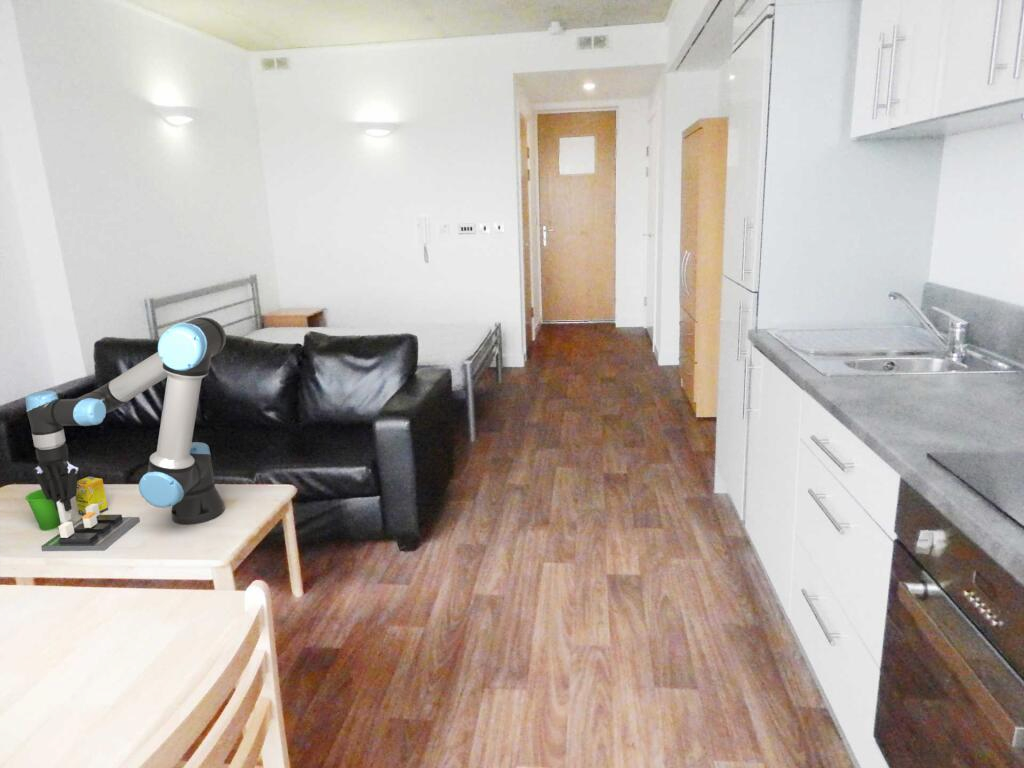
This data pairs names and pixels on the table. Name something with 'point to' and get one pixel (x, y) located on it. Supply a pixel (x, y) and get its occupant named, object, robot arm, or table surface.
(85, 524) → the handle
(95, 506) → the handle
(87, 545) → the panel
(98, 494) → the supplement box
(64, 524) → the handle
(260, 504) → the table surface
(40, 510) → the cup
